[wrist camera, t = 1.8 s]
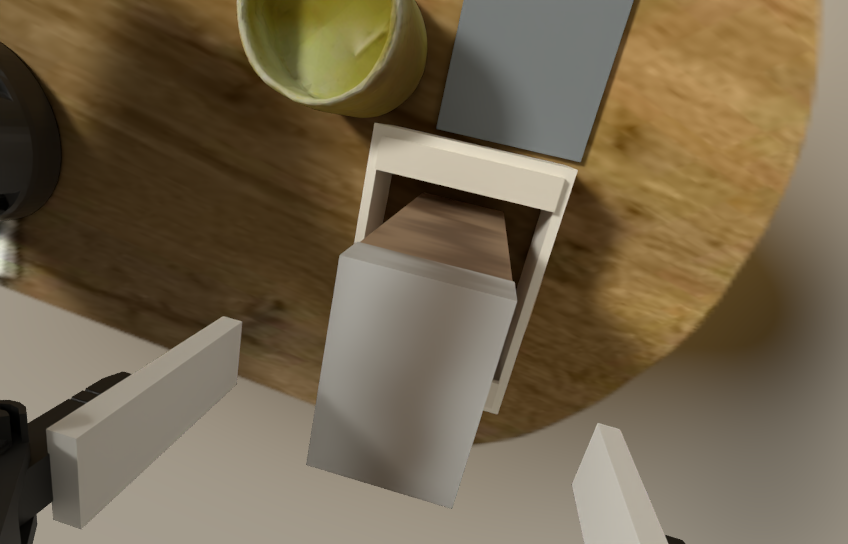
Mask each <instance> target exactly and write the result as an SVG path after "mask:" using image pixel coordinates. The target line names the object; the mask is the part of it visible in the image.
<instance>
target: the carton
mask: <svg viewBox="0 0 848 544" xmlns="http://www.w3.org/2000/svg"><path fill="white" fill-rule="evenodd" d="M577 171H578V170H576V169H574V168H571V167H569V166H566V165H563V164H559V163H554V162H550V161H546V160H542V159H537V158H533V157H529V156H524V155H520V154H516V153H511V152H507V151H503V150H499V149H494V148H490V147H486V146H481V145H477V144H473V143H468V142H464V141H460V140H456V139H451V138H447V137H443V136H438V135H434V134H430V133H425V132H421V131H417V130H413V129H408V128H404V127H400V126H395V125H389V124H381V123H374V129H373V135H372V141H371V147H370V152H369V158H368V164H367V170H366V176H365V182H364V188H363V194H362V200H361V205H360V211H359V217H358V223H357V229H356V235H355V241H354V244H355V243H356V242H360V241H362V240H363V239H364V238H366V237H367V236H368V235H369V234H371V233H372V232H373V231H374V230H376V229H377V228H378V227H380V226H381V225H382V224H383V220H384V215H385V210H386V204H387V199H388V194H389V189H390V183H391V178H392V173H393V174H397V175H401V176H405V177H409V178H414V179H418V180H422V181H426V182H430V183H434V184H438V185H443V186H447V187H451V188H455V189H459V190H463V191H467V192H472V193H476V194H480V195H484V196H488V197H492V198H496V199H500V200H505V201H509V202H513V203H517V204H521V205H525V206H529V207H534V208H538V209H541V212H540V215H539V218H538V222H537V225H536V228H535V231H534V235H533V238H532V241H531V244H530V247H529V251H528V254H527V257H526V260H525V264H524V267H523V270H522V273H521V277H520V280H519V283H518V286H517V289H516V296H517V304H516V307H515V310H514V313H513V316H512V320H511V323H510V326H509V329H508V332H507V335H506V339H505V342H504V345H503V348H502V351H501V355H500V358H499V361H498V364H497V367H496V371H495V374H494V377H493V380H492V383H491V387H490V390H489V393H488V396H487V399H486V402H485V406H484V409H483V411H487V412H490V413H494V414H497V415H498V412H499V409H500V406H501V403H502V400H503V397H504V394H505V391H506V388H507V385H508V381H509V378H510V375H511V372H512V369H513V366H514V363H515V360H516V357H517V354H518V351H519V348H520V345H521V342H522V339H523V336H524V333H525V330H526V329H527V326H528V323H529V320H530V317H531V314H532V311H533V308H534V305H535V302H536V299H537V296H538V293H539V290H540V287H541V283H542V280H543V275H544V272H545V269H546V266H547V263H548V260H549V256H550V253H551V250H552V247H553V244H554V241H555V238H556V235H557V232H558V229H559V226H560V223H561V220H562V217H563V214H564V211H565V208H566V205H567V202H568V199H569V195H570V192H571V189H572V186H573V183H574V180H575V177H576V174H577Z"/></svg>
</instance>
